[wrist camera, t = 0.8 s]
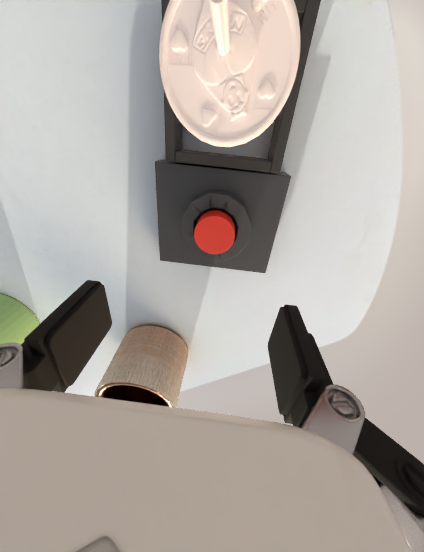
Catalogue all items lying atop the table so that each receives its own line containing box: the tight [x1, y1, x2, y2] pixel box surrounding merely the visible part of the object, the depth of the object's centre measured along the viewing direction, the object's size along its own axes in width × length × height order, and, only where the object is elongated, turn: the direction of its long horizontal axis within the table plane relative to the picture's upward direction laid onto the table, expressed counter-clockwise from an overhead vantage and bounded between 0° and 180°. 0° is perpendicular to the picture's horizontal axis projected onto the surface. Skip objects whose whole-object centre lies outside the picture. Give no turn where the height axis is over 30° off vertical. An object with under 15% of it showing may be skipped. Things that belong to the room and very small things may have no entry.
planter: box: [95, 326, 188, 408], centre depth 32 cm, size 11×11×10 cm
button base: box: [155, 160, 291, 273], centre depth 21 cm, size 10×12×4 cm
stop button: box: [194, 210, 235, 254], centre depth 19 cm, size 4×4×2 cm
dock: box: [162, 0, 321, 173], centre depth 16 cm, size 10×10×3 cm
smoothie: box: [159, 0, 300, 147], centre depth 12 cm, size 6×6×14 cm
